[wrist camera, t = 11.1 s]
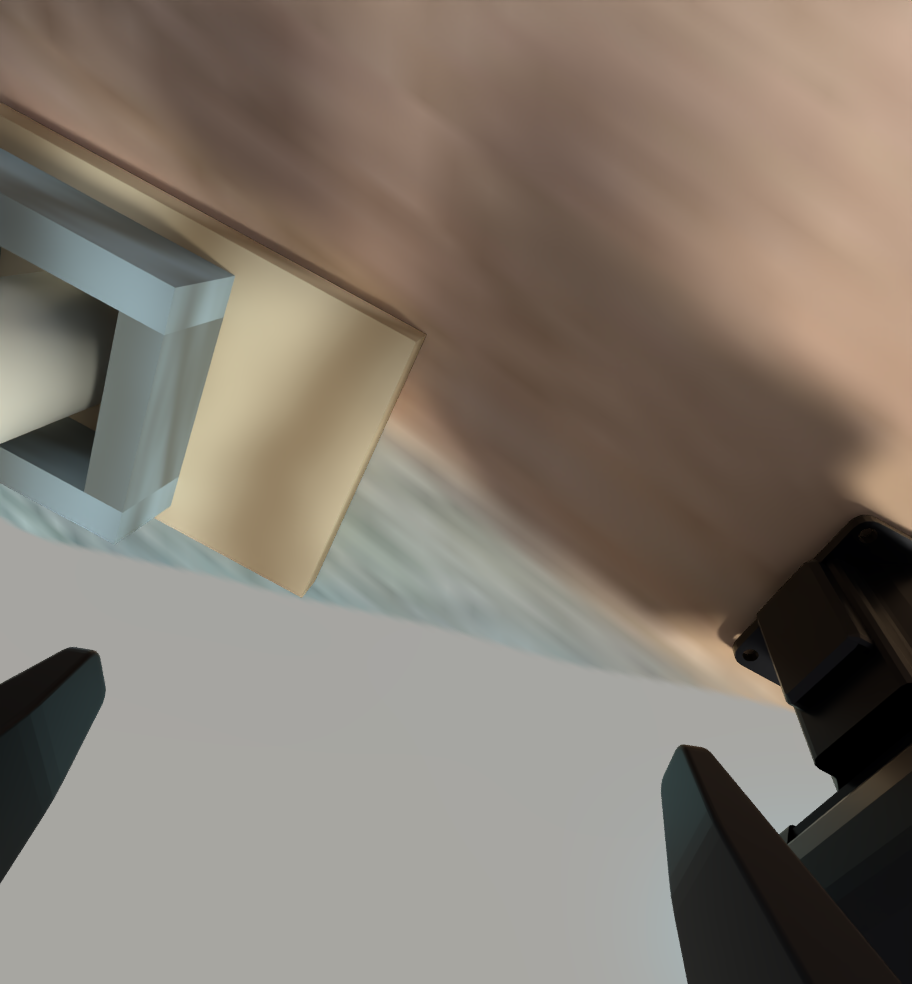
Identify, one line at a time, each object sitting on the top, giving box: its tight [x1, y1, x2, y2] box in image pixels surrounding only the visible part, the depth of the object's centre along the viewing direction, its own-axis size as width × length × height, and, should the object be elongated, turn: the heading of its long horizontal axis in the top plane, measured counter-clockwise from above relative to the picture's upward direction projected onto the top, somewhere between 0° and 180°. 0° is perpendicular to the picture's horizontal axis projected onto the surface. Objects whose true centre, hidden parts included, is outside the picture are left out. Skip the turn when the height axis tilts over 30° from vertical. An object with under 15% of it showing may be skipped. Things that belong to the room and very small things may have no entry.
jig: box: [0, 102, 426, 598], centre depth 20 cm, size 16×11×4 cm
